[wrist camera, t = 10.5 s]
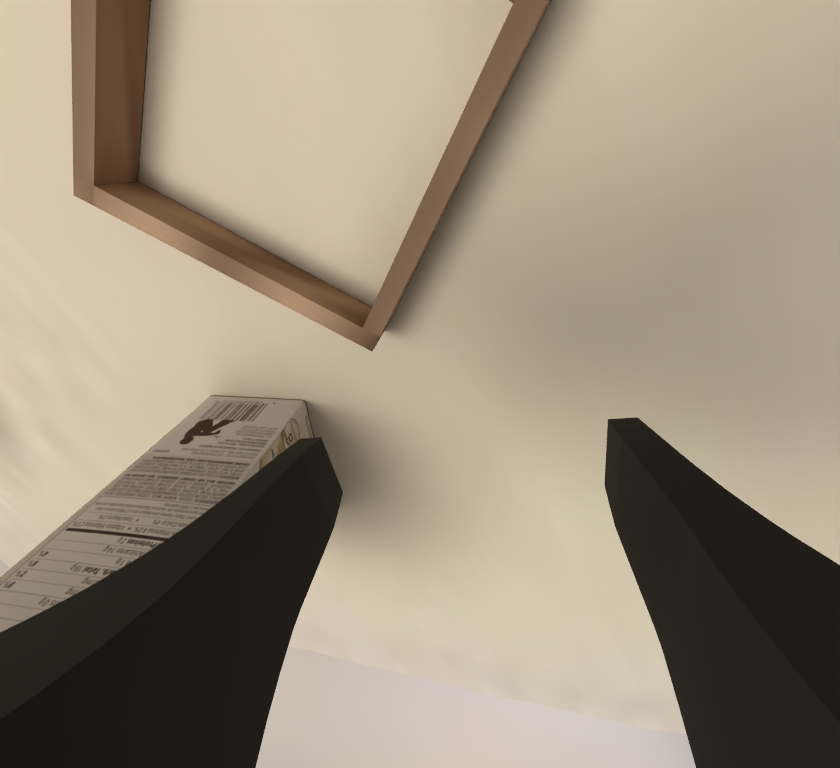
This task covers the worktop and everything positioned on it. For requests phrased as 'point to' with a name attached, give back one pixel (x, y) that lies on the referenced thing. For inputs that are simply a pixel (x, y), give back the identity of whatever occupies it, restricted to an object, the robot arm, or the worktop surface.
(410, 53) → the worktop surface
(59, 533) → the coffee box
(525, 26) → the jug holder
